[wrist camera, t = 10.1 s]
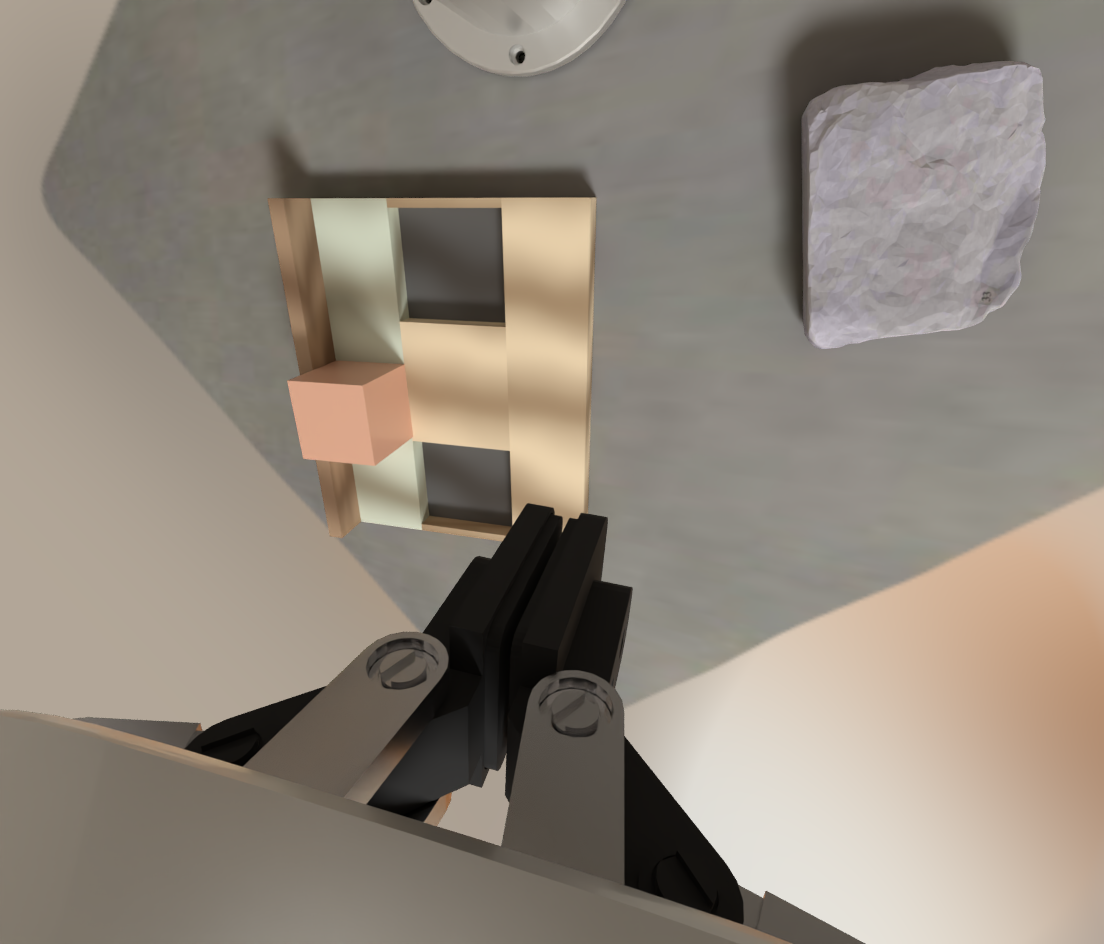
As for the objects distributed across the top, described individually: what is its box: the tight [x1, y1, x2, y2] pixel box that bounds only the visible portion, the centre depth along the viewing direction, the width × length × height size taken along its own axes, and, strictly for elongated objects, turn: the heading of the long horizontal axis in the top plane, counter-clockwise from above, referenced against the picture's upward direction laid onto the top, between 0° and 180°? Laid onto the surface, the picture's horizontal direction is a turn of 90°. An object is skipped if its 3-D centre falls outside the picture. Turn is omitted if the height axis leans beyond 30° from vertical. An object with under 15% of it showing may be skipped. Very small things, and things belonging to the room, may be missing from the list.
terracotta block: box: [287, 360, 413, 466], centre depth 37 cm, size 5×5×5 cm
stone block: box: [801, 61, 1046, 349], centre depth 28 cm, size 12×5×10 cm
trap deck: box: [268, 198, 596, 541], centre depth 37 cm, size 22×18×4 cm
